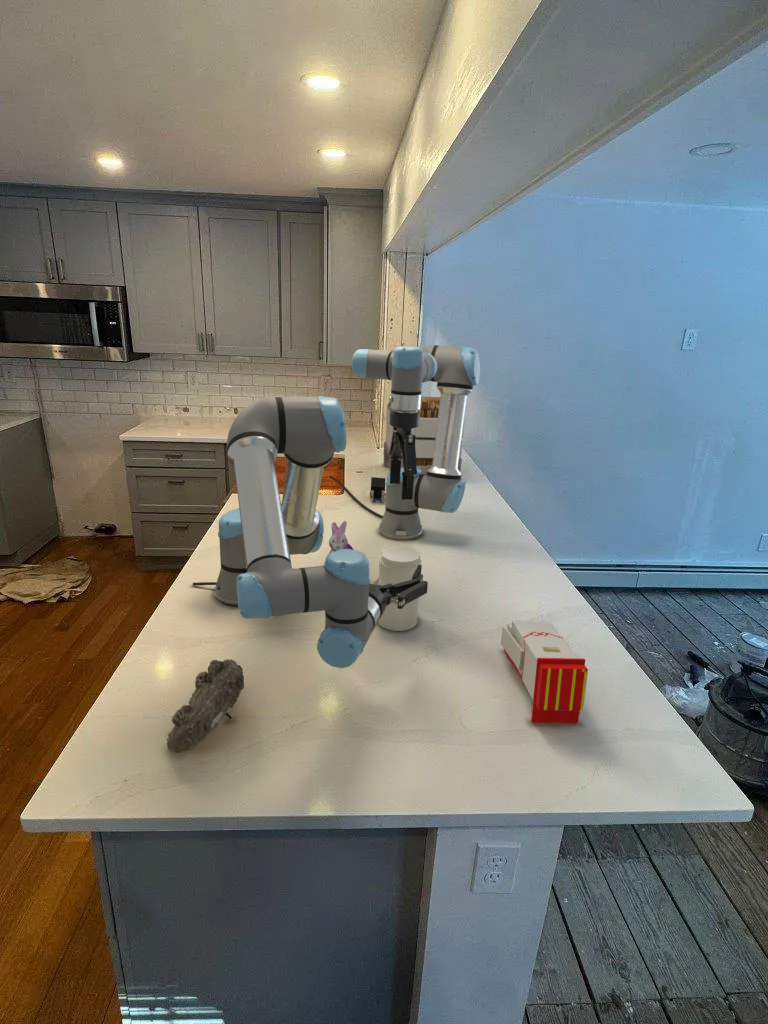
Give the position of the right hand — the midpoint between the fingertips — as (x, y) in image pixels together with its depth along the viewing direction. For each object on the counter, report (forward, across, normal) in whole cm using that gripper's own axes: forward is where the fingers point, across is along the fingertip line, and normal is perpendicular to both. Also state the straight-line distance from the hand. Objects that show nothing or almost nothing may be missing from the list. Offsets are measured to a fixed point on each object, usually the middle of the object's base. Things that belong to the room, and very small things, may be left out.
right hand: (400, 490), depth 150 cm
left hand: (+10, +25, -8) cm, 28 cm away
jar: (+29, +16, -3) cm, 34 cm away
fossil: (+29, +46, -46) cm, 72 cm away
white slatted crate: (+29, -116, +39) cm, 126 cm away
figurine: (+29, -15, -13) cm, 36 cm away
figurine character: (+29, -80, +11) cm, 86 cm away
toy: (+29, +45, +21) cm, 58 cm away
